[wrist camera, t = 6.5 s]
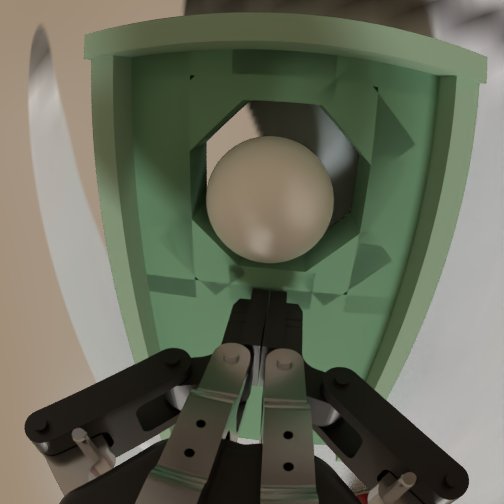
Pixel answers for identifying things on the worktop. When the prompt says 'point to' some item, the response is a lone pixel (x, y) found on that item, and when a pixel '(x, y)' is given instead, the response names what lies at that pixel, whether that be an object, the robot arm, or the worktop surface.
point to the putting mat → (335, 238)
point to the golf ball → (270, 199)
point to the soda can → (363, 496)
